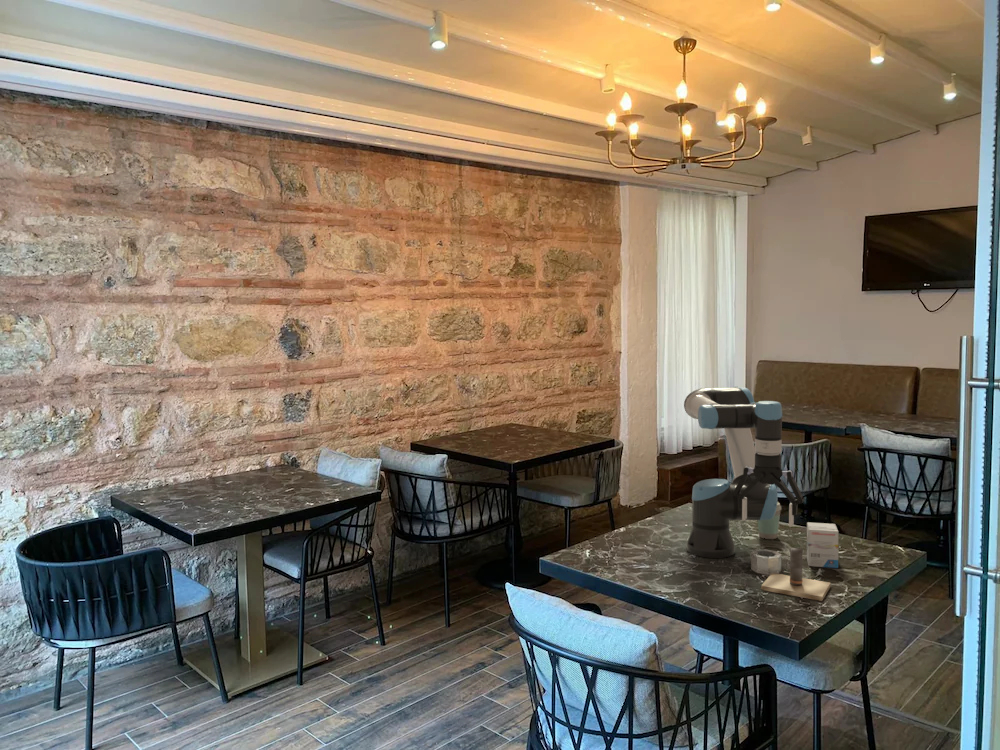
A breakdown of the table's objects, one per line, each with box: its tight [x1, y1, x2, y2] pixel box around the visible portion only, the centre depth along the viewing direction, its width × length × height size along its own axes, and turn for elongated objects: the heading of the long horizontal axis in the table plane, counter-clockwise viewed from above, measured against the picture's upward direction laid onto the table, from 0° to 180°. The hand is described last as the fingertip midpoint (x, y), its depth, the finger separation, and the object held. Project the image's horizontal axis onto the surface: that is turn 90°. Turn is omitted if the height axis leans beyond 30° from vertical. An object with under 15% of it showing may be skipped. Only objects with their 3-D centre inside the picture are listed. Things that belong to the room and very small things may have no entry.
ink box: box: [806, 521, 840, 569], centre depth 228 cm, size 9×8×12 cm
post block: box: [760, 547, 832, 602], centre depth 208 cm, size 16×12×11 cm
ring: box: [750, 548, 782, 576], centre depth 223 cm, size 8×8×5 cm
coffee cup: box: [757, 501, 782, 540], centre depth 255 cm, size 8×9×12 cm
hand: (767, 522), depth 222 cm, fingers open, 13 cm apart
